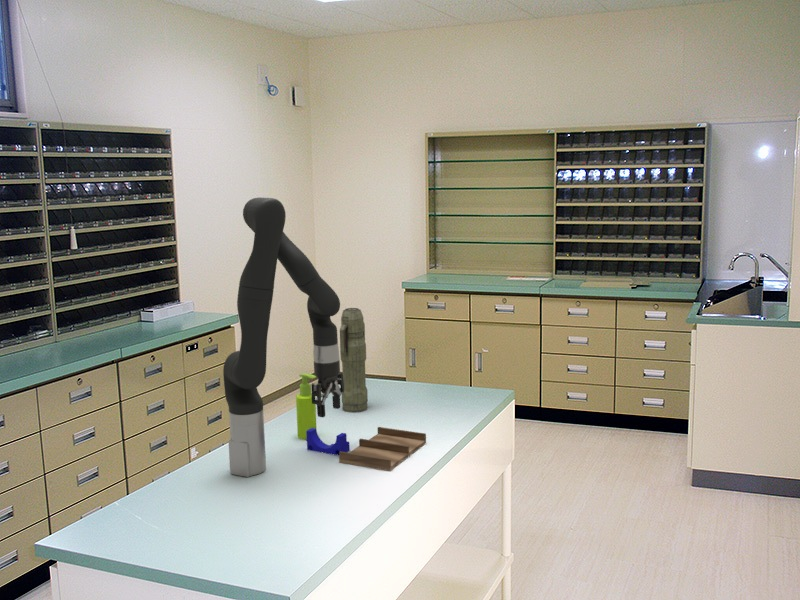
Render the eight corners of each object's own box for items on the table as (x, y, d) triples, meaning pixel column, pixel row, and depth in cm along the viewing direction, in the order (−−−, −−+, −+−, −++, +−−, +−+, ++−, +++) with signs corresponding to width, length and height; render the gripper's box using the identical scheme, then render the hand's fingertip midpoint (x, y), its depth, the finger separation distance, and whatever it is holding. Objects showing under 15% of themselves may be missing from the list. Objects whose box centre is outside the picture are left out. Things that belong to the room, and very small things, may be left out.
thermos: (334, 411, 268) (331, 311, 262) (352, 402, 278) (349, 305, 272) (357, 415, 264) (354, 312, 258) (374, 405, 274) (371, 307, 268)
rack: (389, 470, 214) (389, 460, 213) (339, 462, 221) (339, 452, 220) (426, 443, 235) (425, 433, 235) (378, 436, 242) (378, 426, 242)
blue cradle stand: (349, 451, 230) (349, 432, 229) (341, 456, 226) (340, 436, 225) (315, 445, 236) (314, 426, 235) (307, 450, 232) (306, 430, 231)
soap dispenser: (310, 441, 239) (307, 377, 235) (293, 437, 243) (291, 374, 240) (323, 436, 243) (320, 373, 240) (307, 432, 247) (304, 370, 244)
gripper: (324, 365, 219) (327, 421, 222) (349, 354, 232) (352, 406, 234) (302, 363, 222) (305, 418, 225) (328, 352, 235) (330, 404, 238)
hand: (329, 412), depth 230 cm, fingers open, 8 cm apart
